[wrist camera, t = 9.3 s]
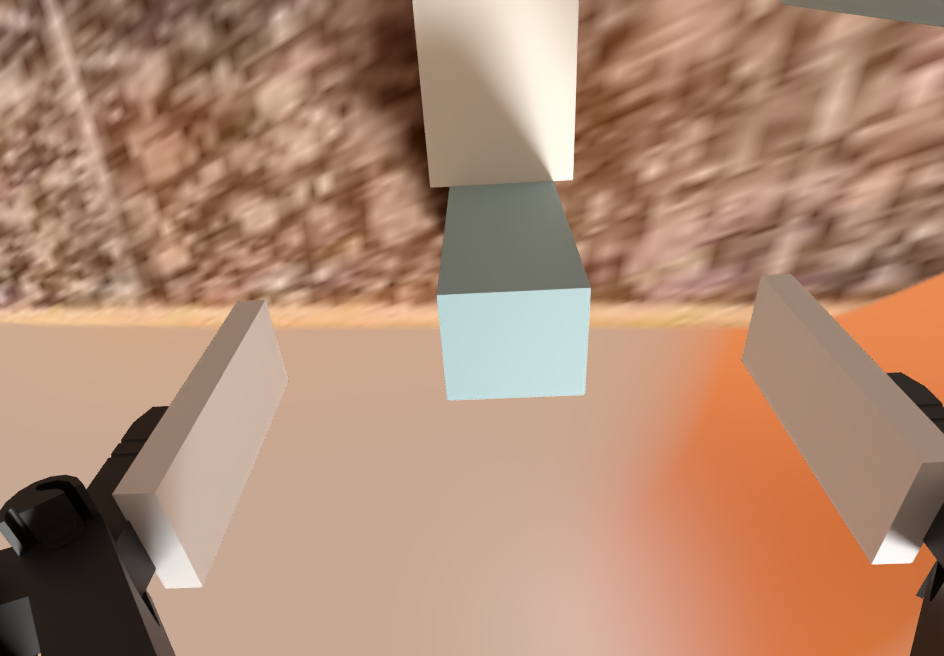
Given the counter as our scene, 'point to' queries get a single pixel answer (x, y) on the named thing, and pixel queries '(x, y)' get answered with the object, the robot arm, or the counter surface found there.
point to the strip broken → (882, 9)
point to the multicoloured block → (504, 194)
